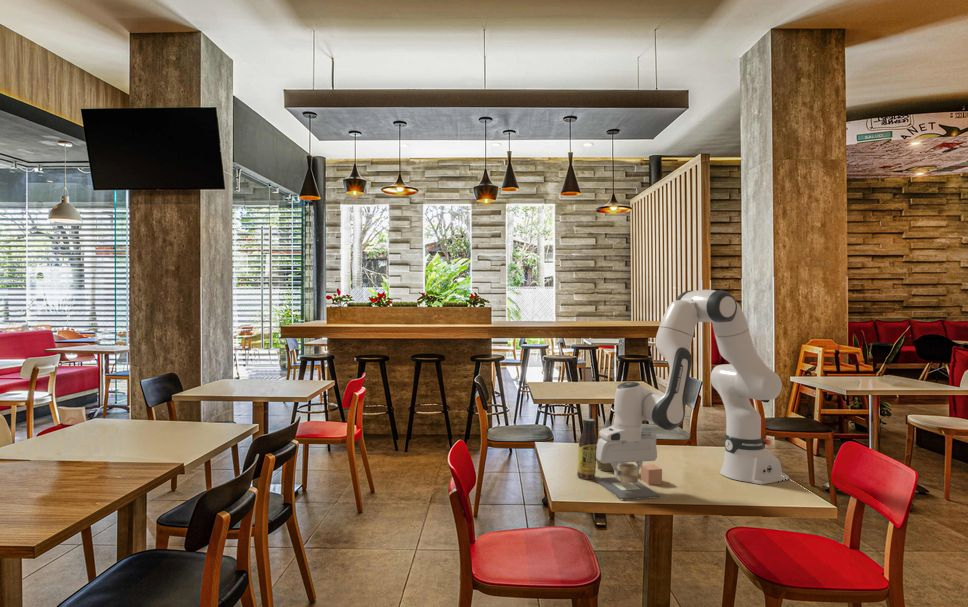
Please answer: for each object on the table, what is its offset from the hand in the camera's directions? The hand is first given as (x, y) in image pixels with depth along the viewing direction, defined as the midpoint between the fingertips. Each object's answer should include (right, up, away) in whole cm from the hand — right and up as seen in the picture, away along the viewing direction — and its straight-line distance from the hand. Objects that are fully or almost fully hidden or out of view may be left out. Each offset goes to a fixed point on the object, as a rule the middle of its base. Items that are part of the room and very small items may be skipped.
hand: (626, 475), depth 170 cm
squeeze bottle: (-2, -5, +20) cm, 21 cm away
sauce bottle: (-11, -4, +11) cm, 16 cm away
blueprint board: (0, -4, 0) cm, 4 cm away
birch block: (0, -2, 0) cm, 2 cm away
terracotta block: (+10, -5, +8) cm, 14 cm away
